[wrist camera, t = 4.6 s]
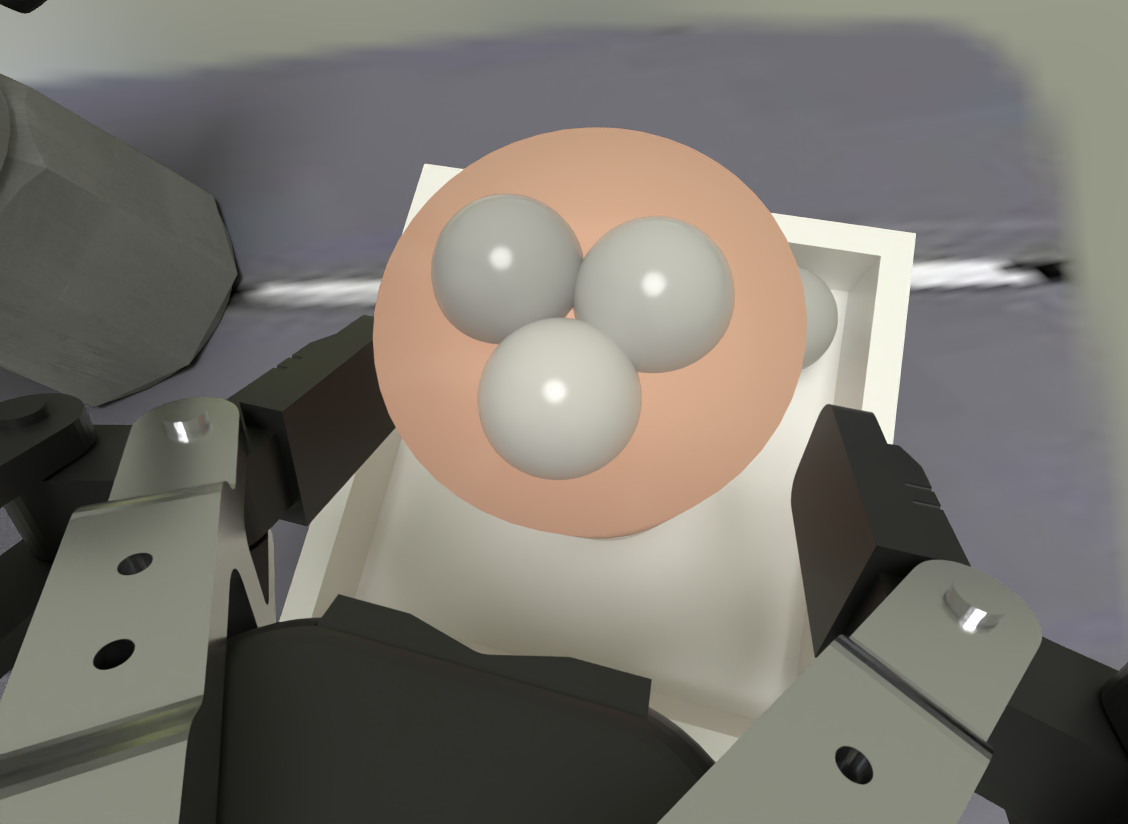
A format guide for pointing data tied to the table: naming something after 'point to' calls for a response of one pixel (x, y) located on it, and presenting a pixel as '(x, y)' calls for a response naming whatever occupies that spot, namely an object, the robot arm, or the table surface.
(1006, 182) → the table surface
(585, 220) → the pebble pot
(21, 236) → the coffeepot
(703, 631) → the parts tray
